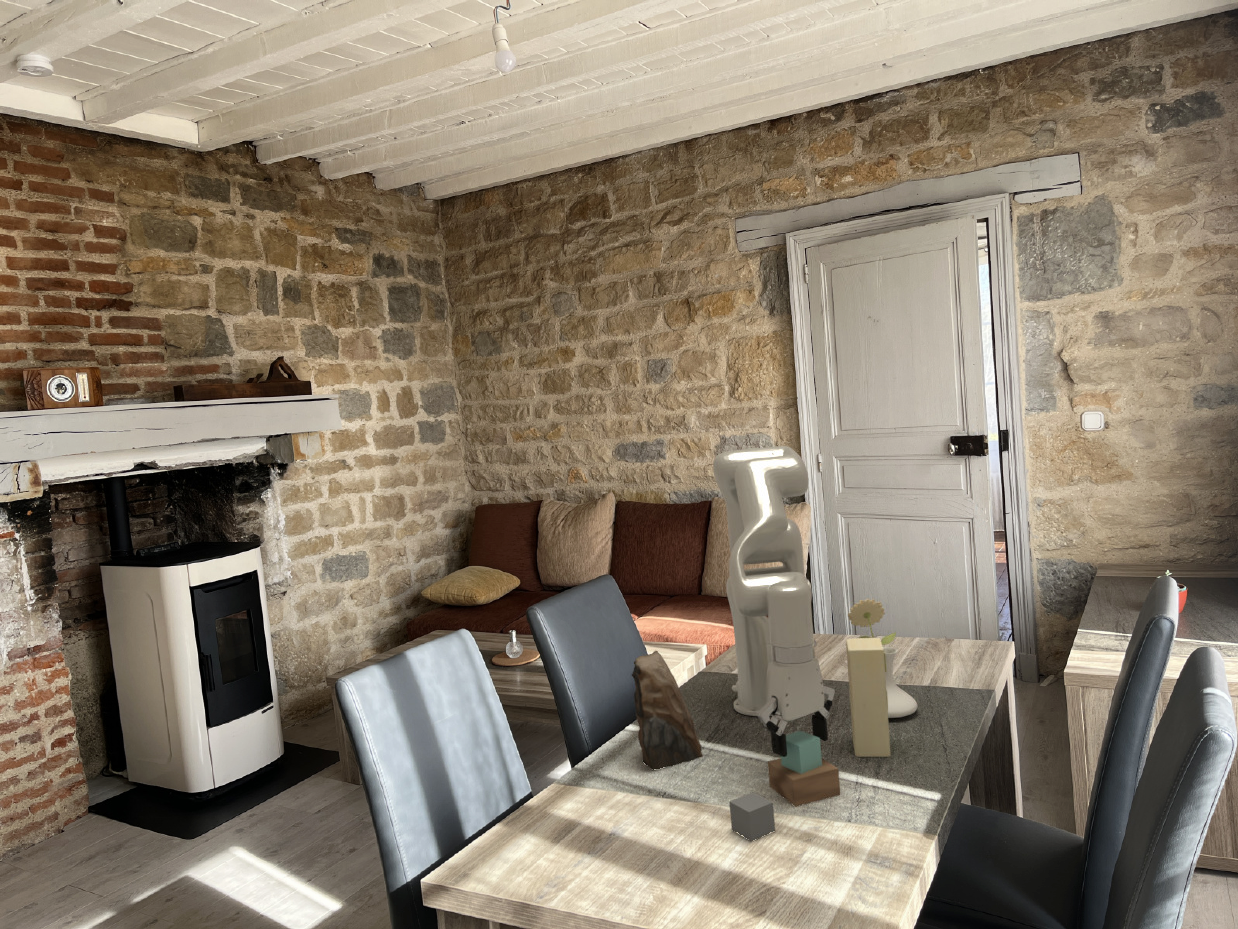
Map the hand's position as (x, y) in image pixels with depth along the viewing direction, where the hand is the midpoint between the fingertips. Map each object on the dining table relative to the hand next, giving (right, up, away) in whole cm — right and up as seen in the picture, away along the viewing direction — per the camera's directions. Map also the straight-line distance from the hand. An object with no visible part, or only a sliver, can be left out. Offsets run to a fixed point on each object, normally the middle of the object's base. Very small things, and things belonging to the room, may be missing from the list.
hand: (800, 746), depth 155 cm
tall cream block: (+17, -6, +15) cm, 24 cm away
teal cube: (0, -3, 0) cm, 3 cm away
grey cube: (-10, -10, -12) cm, 19 cm away
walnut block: (+1, -8, 0) cm, 8 cm away
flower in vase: (+25, -4, +33) cm, 42 cm away
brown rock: (-22, -9, +21) cm, 31 cm away
